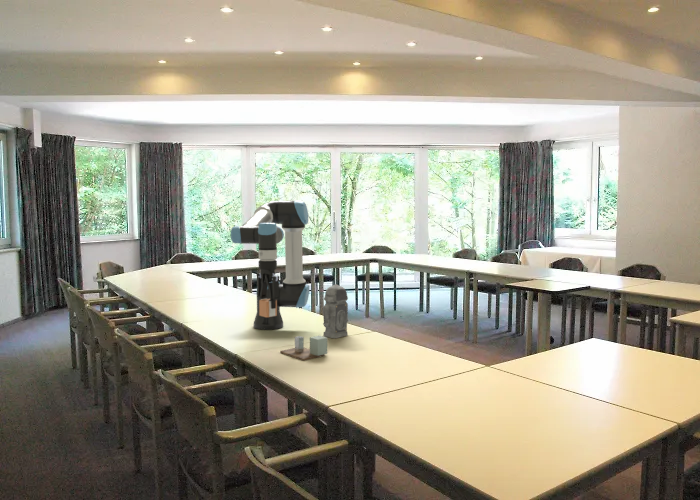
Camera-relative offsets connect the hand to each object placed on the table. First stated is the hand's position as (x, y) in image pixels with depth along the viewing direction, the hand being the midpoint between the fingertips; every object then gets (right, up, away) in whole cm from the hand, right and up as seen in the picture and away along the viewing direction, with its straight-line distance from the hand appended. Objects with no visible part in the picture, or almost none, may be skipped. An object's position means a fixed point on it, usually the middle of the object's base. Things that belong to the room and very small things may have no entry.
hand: (268, 314), depth 233 cm
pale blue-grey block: (+21, -17, 0) cm, 27 cm away
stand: (+14, -17, +1) cm, 22 cm away
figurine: (+27, -14, +35) cm, 46 cm away
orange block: (0, 0, 0) cm, 0 cm away
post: (+13, -17, +3) cm, 21 cm away
